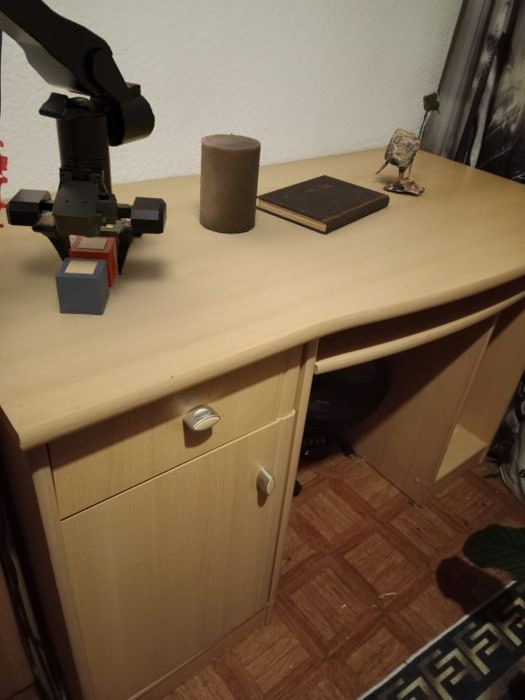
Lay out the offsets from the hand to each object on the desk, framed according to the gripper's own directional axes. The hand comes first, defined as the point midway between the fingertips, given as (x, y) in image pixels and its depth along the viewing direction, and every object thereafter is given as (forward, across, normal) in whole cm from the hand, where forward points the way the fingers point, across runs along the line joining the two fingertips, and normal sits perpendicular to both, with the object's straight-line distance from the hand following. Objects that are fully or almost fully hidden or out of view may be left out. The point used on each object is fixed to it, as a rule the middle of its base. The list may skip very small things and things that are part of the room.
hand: (95, 272), depth 73 cm
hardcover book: (+1, +37, +34) cm, 50 cm away
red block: (+1, 0, 0) cm, 1 cm away
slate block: (+1, 0, -7) cm, 7 cm away
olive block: (+1, 0, +7) cm, 7 cm away
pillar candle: (+1, +18, +23) cm, 29 cm away
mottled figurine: (+1, +56, +50) cm, 75 cm away
